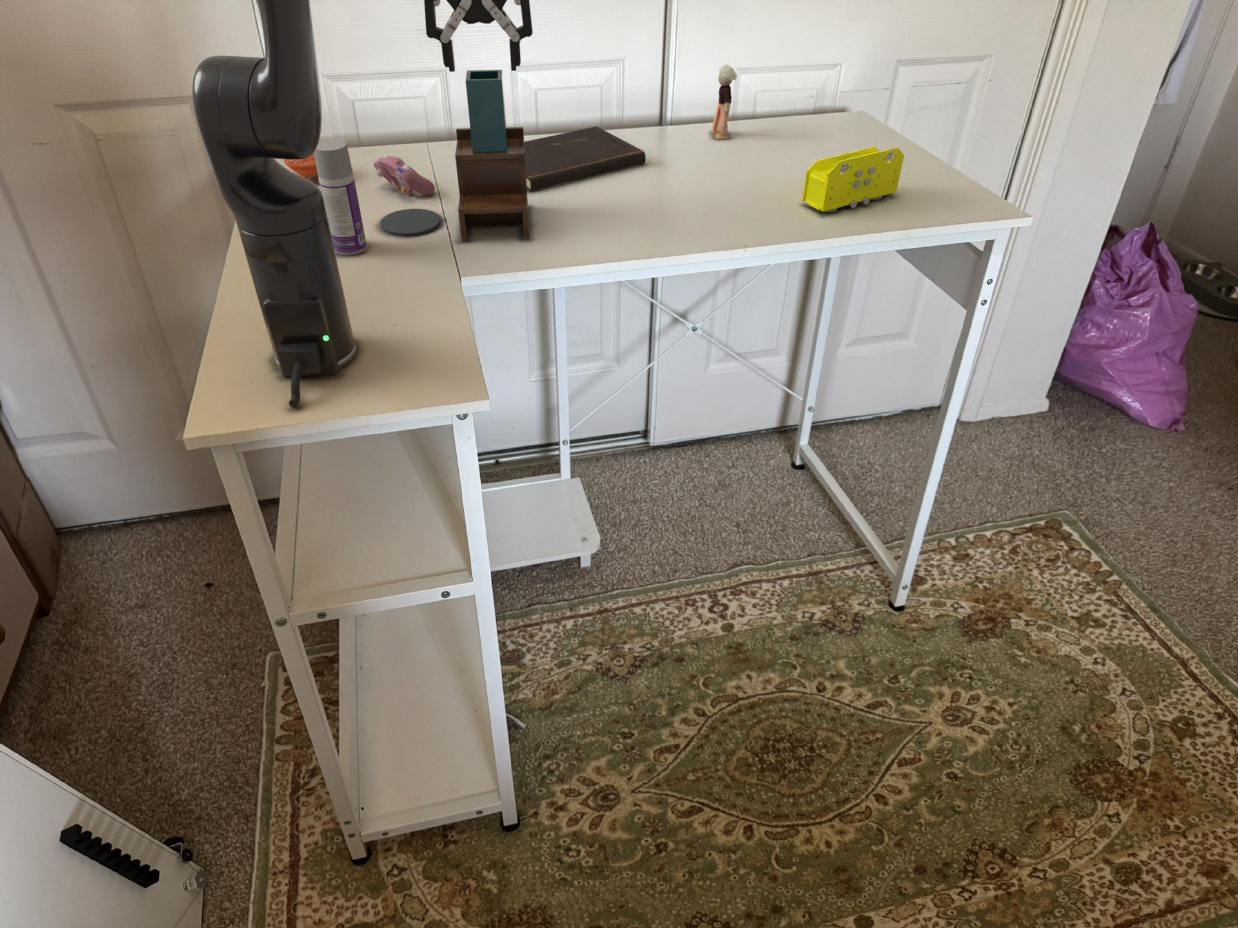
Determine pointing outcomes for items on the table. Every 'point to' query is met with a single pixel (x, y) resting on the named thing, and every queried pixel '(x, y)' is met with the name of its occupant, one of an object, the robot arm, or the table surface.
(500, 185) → the shelf
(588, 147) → the hardcover book
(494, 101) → the holder
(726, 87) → the grandmother figurine
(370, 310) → the table surface
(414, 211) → the coaster
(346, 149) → the container
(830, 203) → the yellow toy chassis
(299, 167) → the pot
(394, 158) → the video game controller
